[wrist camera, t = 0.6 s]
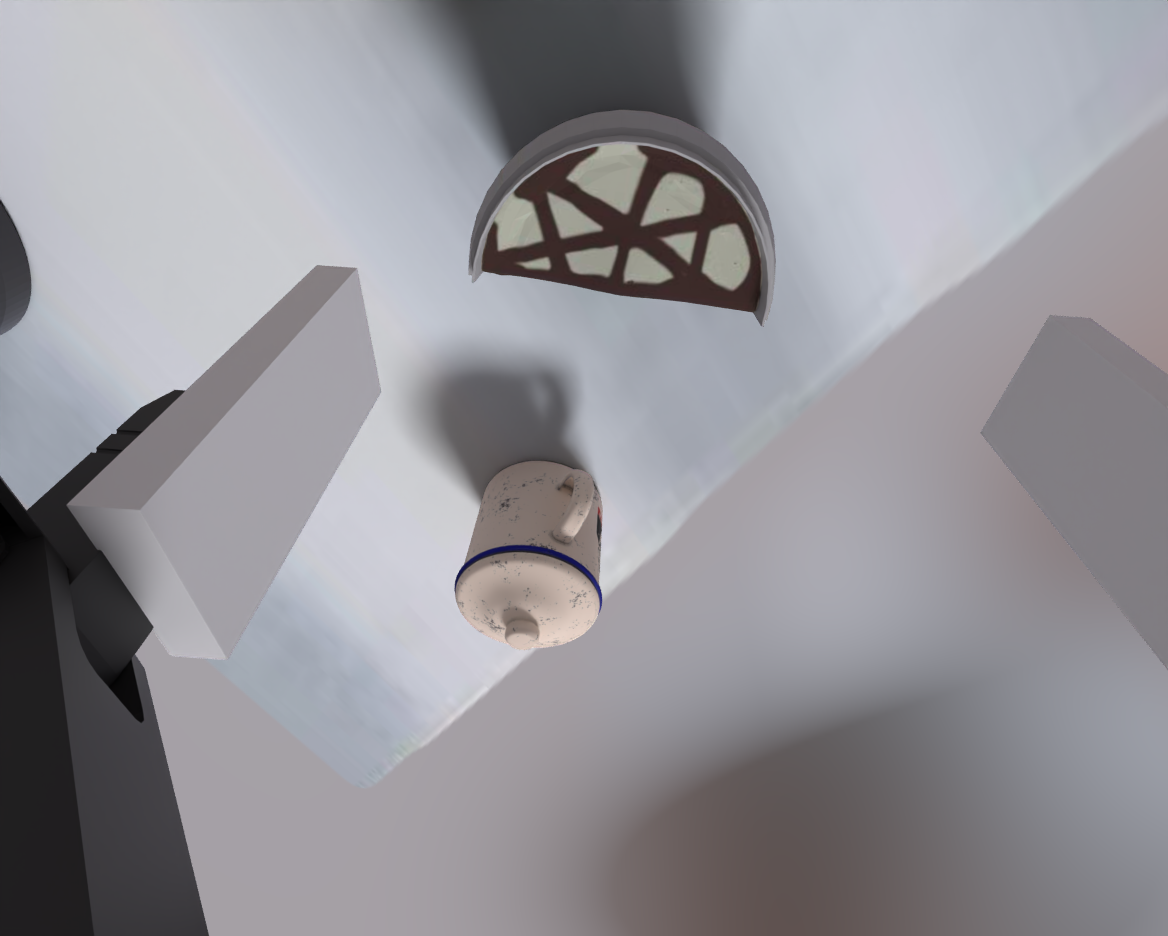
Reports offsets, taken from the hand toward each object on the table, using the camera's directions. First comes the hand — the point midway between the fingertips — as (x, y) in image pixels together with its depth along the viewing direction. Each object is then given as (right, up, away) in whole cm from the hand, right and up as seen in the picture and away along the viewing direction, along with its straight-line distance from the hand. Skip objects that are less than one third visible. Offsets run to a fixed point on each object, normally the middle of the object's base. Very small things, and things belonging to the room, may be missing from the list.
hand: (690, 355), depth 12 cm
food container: (0, +13, +17) cm, 21 cm away
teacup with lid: (-4, -4, +31) cm, 31 cm away
